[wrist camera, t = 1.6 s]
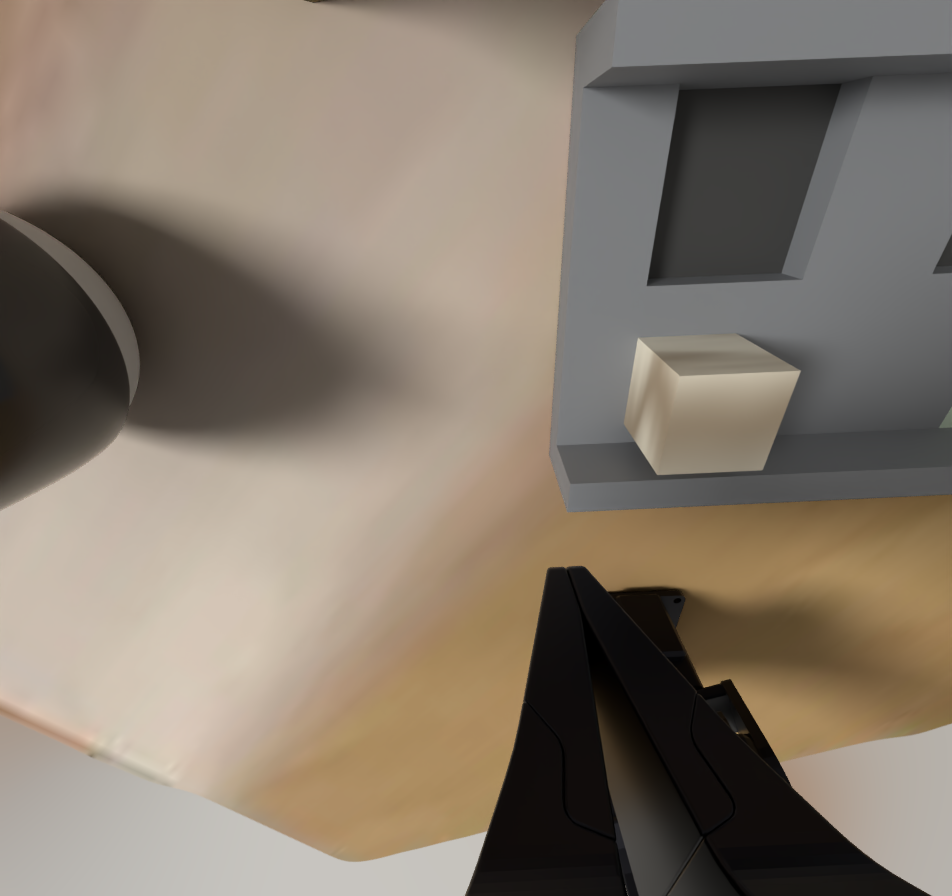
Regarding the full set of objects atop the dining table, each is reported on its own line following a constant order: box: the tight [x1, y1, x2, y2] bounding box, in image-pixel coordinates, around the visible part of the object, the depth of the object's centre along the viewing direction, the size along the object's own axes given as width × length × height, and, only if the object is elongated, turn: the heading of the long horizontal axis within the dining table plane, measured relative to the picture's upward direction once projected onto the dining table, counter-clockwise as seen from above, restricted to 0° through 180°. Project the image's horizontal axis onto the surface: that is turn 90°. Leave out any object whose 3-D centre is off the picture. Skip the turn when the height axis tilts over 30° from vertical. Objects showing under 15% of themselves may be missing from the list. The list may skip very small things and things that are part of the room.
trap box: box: [549, 0, 952, 512], centre depth 16 cm, size 16×26×4 cm, turn 92°
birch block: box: [624, 333, 801, 475], centre depth 17 cm, size 4×4×4 cm
